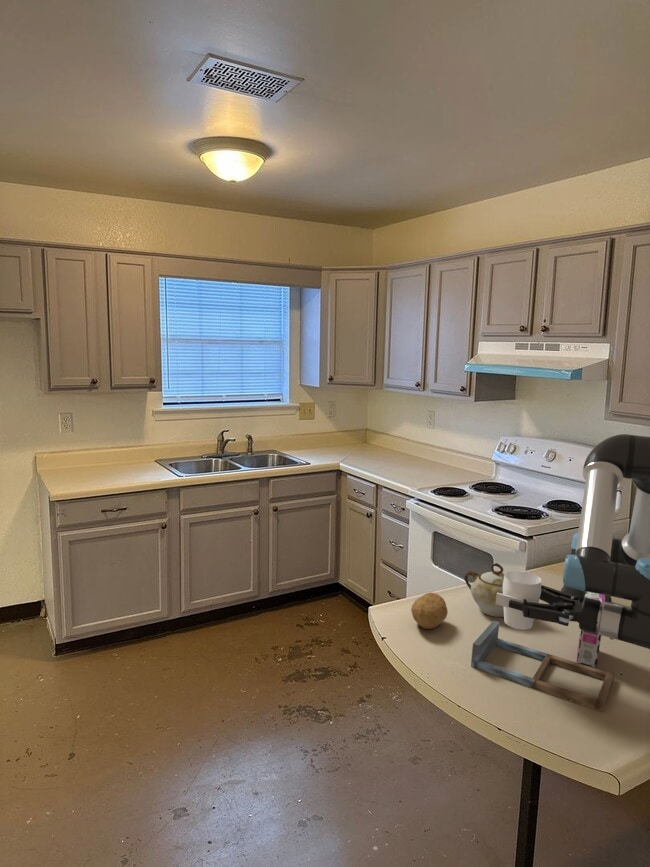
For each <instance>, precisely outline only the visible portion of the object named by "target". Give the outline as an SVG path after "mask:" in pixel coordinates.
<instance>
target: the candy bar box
mask: <svg viewBox="0 0 650 867" xmlns="http://www.w3.org/2000/svg"><path fill="white" fill-rule="evenodd" d="M585 598H591V599H595V600H599V601H600V602H601V603H602V604H604V603H605V595H603V594H598V593H592V592H587V591H586V592H585ZM601 641H602V635H600V634H599V632H598V631H597V633H595V634H594V633H591V632H587V631H584V630H581V629H580V628H579V638H578V644H577V645H578V646H577V656H576V663H579V664H583V665H586V666H589V667H592V668H595V669H598V668H597V666H598V660H599V654H600V646H601Z"/></svg>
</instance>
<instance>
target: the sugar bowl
mask: <svg viewBox="0 0 650 867" xmlns="http://www.w3.org/2000/svg"><path fill="white" fill-rule="evenodd" d="M494 567H497V568H498V569H499V570H495V569H494ZM490 569H491V571H488V572H483V573H480V574H479V573H477V572H474V571H467V572H466V573H465V575H464V582H465V585H467V586H468V588H469V590H470V593H471V596H472V598H473V600H474V602H475V603H476V605H477V607H478V608H479V610H480V611H481V613H483V614H484V615H487V616H489V617H490V616H491V617H496V618H504V606H501V605H497V604H496V594H497V593H501V594H503V581H504V575H505V573H504V568H503V566H501V564H500V563H497V562H495V563H493V564H491V566H490ZM469 576H472V577H473V581H472V583H471V584H470V582H469V580H468V577H469Z"/></svg>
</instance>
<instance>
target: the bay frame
mask: <svg viewBox="0 0 650 867" xmlns="http://www.w3.org/2000/svg"><path fill="white" fill-rule="evenodd" d="M499 630H500V621H496V620H492V621H491V623H490V624H489V625H488V626H487V627H486V628H485V630H484V631H483V632H482V633H481V634H480V635H479V636H478V637H477V639H475V641H474V642H473V643H472V650H471V651H472V652H471V660H470V667H471V668H475V669H477V670H480V671H483V672H486V673H489V674H491V675H494V676H497V677H500V678H504V679H507V680H510V681H512V682H514V683H518V684H521V685H523V686H526V687H529V688H532V689H534V690H538V691H541V692H544V693H547V694H550V695H552V694H553V695H552V696H555V695H556V696H555V697H558V696H559V698H561V697H562V699H564V698H566V699H565V700H567V699H568V700H567V701H570V700H572V701H574V702H573V703H575V702H577V703H576V704H578V703H579V704H578V705H581V704H583V705H582V706H584V705H585V707H587V706H588V707H587V708H590V707H591V708H590V709H593V708H594V710H596V709H597V710H596V711H598V710H600V711H599V712H601V711H602V713H603V712H604V710H605V707H604V706H606V704H607V701H606V700H608V698H609V694H610V691H611V688H612V686H613V683H614V680H615V679H614V678H615V674H614V673H612V672H608V671H605V670H601V669H599V668H593V667H589V666H586V665H583V664H579V663H577V661H572V660H569V659H567V658H564V657H559V656H557V655H553V654H549V653H547V652H543V651H541V650H537V649H534V648H531V647H529V646H524V645H520V644H518V643H515V642H511V641H508V640H505V639H503V638H500V637H499ZM495 647H498V648H501V649H505V650H508V651H510V652H513V653H517V654H521V655H524V656H527V657H531V658H532V659H536V660H539V661H541V664H540V665H539V667H538V669H537V670H536V671H535V674H534V675H533V676H532V677H531V676H528V675H526V674H522V673H520V672H516V671H513V670H510V669H508V668H505V667H502V666H498V665H495V664H493V663H489V662H486V661H484V660H485V659H486V658H487V657H488V656H489V655H490V653H491V652H492V650H494V648H495ZM550 664H552V665H555V666H558V667H561V668H565V669H567V670H571V671H574V672H577V673H580V674H583V675H585V676H589V677H592V678H596V679H599V680H602V681H603V682H602V685H601V687H600V690H599V692H598V695H597V698H593V697H590V696H587V695H585V694H581V693H578V692H576V691H572V690H569V689H567V688H564V687H562V686H561V687H560V686H558V685H554V684H552V683H549V682H546V681H542V678H543V676H544V675H545V673H546V671H547V669H548V668H549V666H550ZM572 701H571V702H572ZM605 703H606V704H605ZM603 709H604V710H603Z"/></svg>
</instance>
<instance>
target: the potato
mask: <svg viewBox="0 0 650 867" xmlns="http://www.w3.org/2000/svg"><path fill="white" fill-rule="evenodd" d="M410 611H411V614H412V618H413V620H414V621H415V622H416V624H417V625H418V626H419V627H421V628H423V629H425V630H429V629H430V630H431V629H435V628H437V627H438V626H439V625H440V624H442V623H443V622H444V621H445V619H447V615H448V612H449V611H448V607H447V604H446V601H445V599H444V598H443V597H442V596H441V595H440V594H438V593H435V592H426V593H425V594H423V595H421V596H420V597H418V598H417V599H415V600H414V602H413V604H411V608H410Z"/></svg>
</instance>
